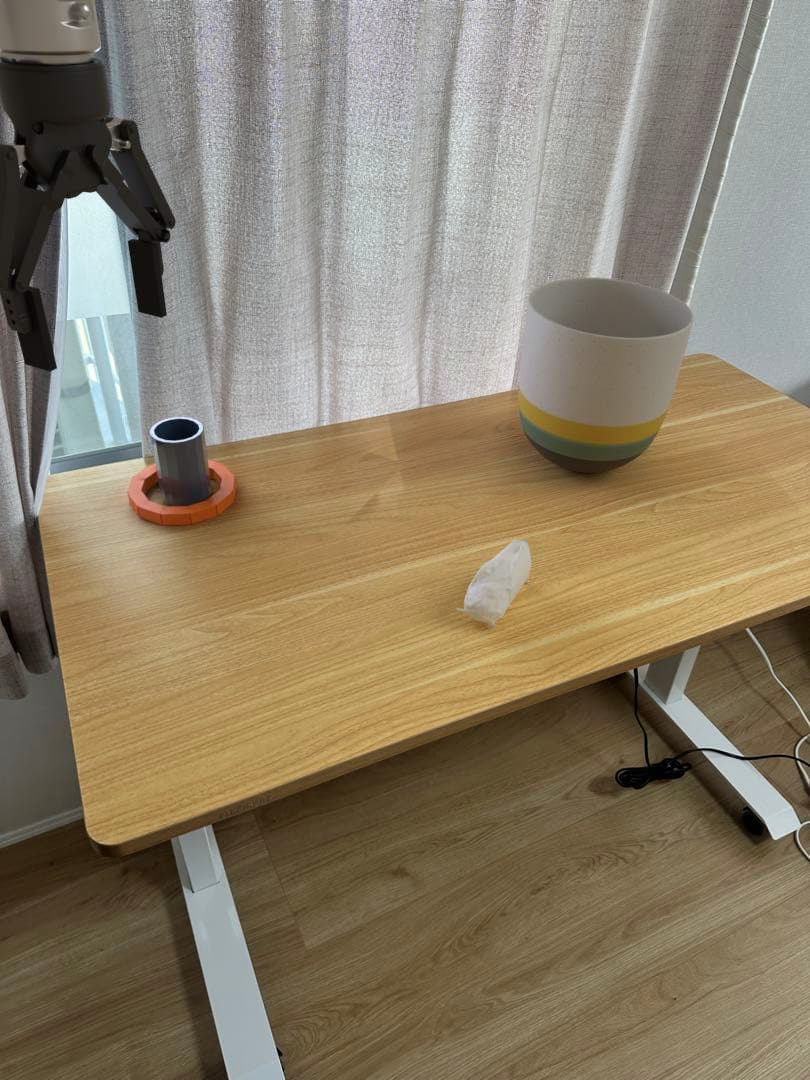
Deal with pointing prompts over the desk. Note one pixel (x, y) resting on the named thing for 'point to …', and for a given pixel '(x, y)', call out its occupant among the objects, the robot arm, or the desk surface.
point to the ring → (181, 513)
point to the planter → (599, 369)
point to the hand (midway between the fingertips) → (100, 338)
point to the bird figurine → (498, 583)
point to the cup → (181, 461)
